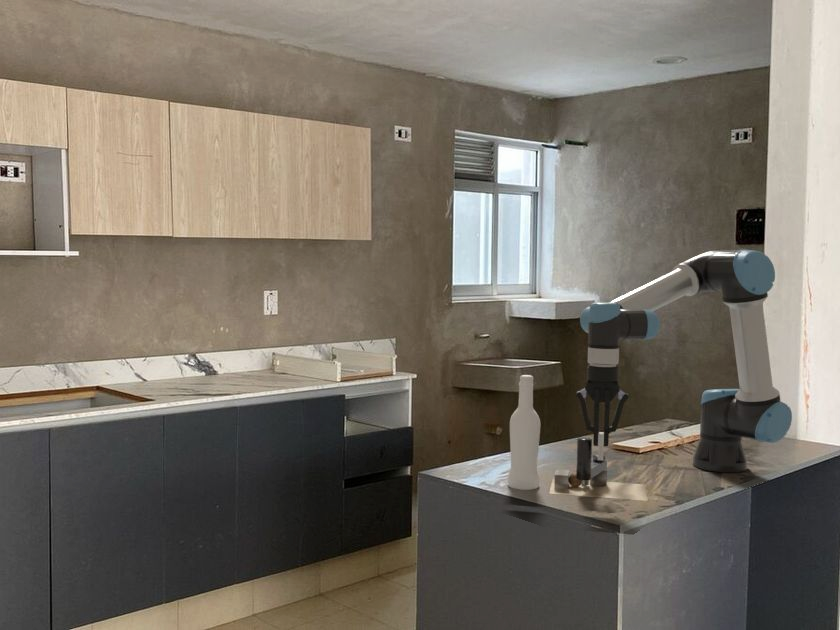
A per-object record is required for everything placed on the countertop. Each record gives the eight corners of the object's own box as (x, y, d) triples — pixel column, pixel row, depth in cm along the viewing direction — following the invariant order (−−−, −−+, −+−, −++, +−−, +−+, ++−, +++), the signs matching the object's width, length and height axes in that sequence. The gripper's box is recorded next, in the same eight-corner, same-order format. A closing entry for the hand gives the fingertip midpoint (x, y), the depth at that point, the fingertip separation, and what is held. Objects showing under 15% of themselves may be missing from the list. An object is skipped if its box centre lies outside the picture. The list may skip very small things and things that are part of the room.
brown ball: (585, 483, 222) (578, 470, 223) (584, 484, 219) (578, 471, 220) (572, 488, 223) (566, 475, 224) (571, 489, 219) (565, 477, 220)
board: (644, 488, 225) (645, 470, 225) (647, 505, 210) (648, 486, 209) (552, 482, 230) (553, 464, 230) (549, 498, 215) (549, 479, 214)
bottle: (505, 485, 226) (508, 373, 224) (535, 485, 226) (538, 373, 224) (510, 494, 217) (513, 377, 216) (542, 494, 218) (545, 377, 216)
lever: (607, 482, 225) (609, 431, 224) (587, 494, 212) (589, 441, 212) (592, 480, 227) (594, 429, 226) (571, 492, 215) (573, 439, 214)
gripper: (629, 364, 214) (626, 457, 215) (576, 362, 216) (574, 454, 218) (630, 367, 206) (627, 464, 208) (576, 365, 209) (573, 460, 210)
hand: (600, 458), depth 213 cm, fingers closed
